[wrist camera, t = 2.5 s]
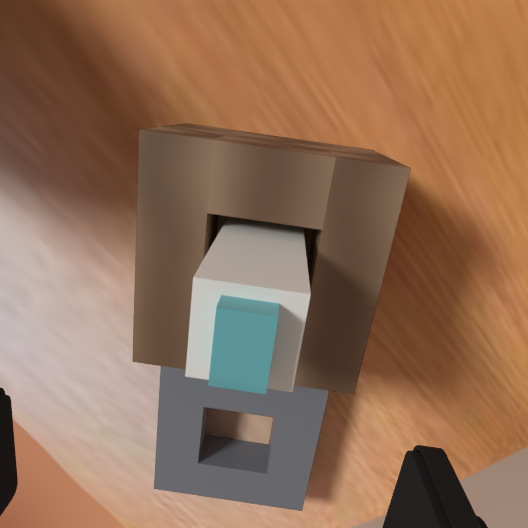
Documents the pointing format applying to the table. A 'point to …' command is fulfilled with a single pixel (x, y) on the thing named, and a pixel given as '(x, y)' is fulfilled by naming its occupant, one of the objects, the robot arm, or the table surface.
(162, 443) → the lower socket plate
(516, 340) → the table surface
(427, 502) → the robot arm
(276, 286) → the plug peg
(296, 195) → the upper socket tower
